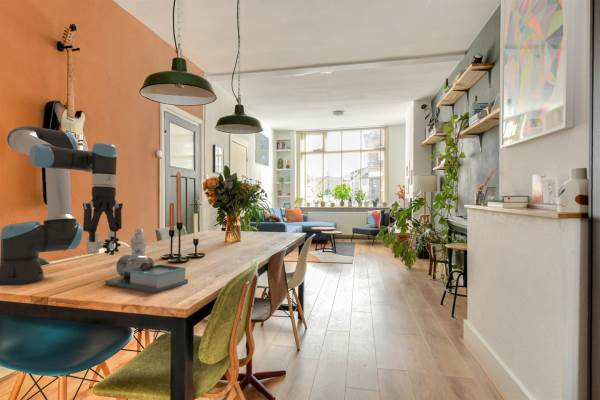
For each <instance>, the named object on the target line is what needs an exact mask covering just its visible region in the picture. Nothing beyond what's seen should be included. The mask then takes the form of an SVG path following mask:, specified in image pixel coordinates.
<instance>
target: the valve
mask: <svg viewBox="0 0 600 400" xmlns="http://www.w3.org/2000/svg"><path fill="white" fill-rule="evenodd" d="M110 238H111V240H109V239H108V238H106V239H104V241H103V240H100V235H99V234H98V251H96V252H95V251H91V242H89V234H88V235H86V240H87V241H86V242H85V243H86V255H87V254H88V255H95V254H99V253H100V250H101V249H105V250H104V254H107V255H108V254H109V255H110V256H114V254H115V253H119V251H120V250H119V249H118V248H119V247H120V246H122V244H121V243H119V241H120V239H119V238H118V237H116V238H115V240H114V237H112V236H111V237H110ZM111 241H114V242H112V243H110V242H111ZM113 247H114V249H110V248H113Z"/></svg>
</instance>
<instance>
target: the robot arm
mask: <svg viewBox="0 0 600 400" xmlns="http://www.w3.org/2000/svg"><path fill="white" fill-rule="evenodd" d="M6 140H7V141H6V142H7V144H8V145H9V147H10V148H11V149H12V150H14V151H16V152H17V153H20V154H25V155H27V156H28V157H29V161H30V164H31V166H33V167H37V168H43V169H45V183H46V184H45V186H46V189H45V190H46V208H47V209H46V211H47V217H46V218H45V219H44V220H43V224H41V223H40V221H34V220H33V221H23V222H16V223H10V224H6V225H4V226H3V227H2V228H1V232H0V286H14V285H23V284H29V283H31V284H32V283H34V282H38V281H42V280H43V279H45V277H44V275H45V273H44V270H43V268H42V265H41V263H40V259H39V257H40V256H39V255H40V253H50V252H60V251H64V252H65V251H69V250H75V249H77V248H78V247H79V246H80V244H81V242H82V239H83V234H84V232H87V233H88V235H89V242H91V251H95V252H96V251H98V235H99V232H97V229H98V227H99V221H100V219H101V215H102V214H103V212H104V214H105V216H106V220H107V225H108V227H109V230H108V231H107V239H109V240H111V238H110V237H111V236H112V237H114V240H115V238H117V232H119V230H121V229H122V226H123V225H122V222H123V221H122V209H123V207H124V206H123V203H120V202H117V201H116V196H117V194H116V193H117V188H116V187H115V186H117V185H116V184H117V157H118V155H117V147H116V145H114V144H112V143H111V144H110V143H102V142H97V143H93V145H92V148H91V149H92V150H90V151H89V150H82V149H79V146H78V141H77V139H76V137H75V136H74V134H72V133H71V132H67V131H63V130H57V129H50V128H43V127H37V126H30V125H28V126H26V125H24V126H19V127H16V128H13V129H12V130H10V131H9V132H8V134H7V136H6ZM70 171H83V172H86V173H91V185H92V187H91V200H90V202H89V201H88V202H84V203H82V207H83V210H84V211H83V225H82V223H80V222H77V218H76V217H75V216H73V209H72V192H71V191H72V190H71V176H70V175H71V174H70ZM92 208H93V209H92ZM112 242H114V241H111V242H110V243H112ZM114 248H115V246H114V247H113V248H110V250H113V249H114Z"/></svg>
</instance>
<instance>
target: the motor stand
mask: <svg viewBox="0 0 600 400" xmlns="http://www.w3.org/2000/svg"><path fill="white" fill-rule="evenodd" d="M115 269H116V272H117V274H118V275H119V276H120V277H119V276H118V277H116V278H111V279H107V280H105V286H106V285H108V286H113V287H118V288H123V289H126V290H127V289H128V290H134V291H138V292H143V293H149V294H155V293H156V294H157V293H159V292H160V293H161V292H163V291H166V290H169V289H172V288H177V287H179V286H182V285H185V284H189V283H188V280H189V278H186V267H183V266H175V265H168V264H161V263H160V264H155V262H154V260H153V259H152V257H149V256H145V257H144V256H136V255H132V254H124V255H122V256H121V257H120V258H119V259H118V261H117V263H116V267H115Z"/></svg>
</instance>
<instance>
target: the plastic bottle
mask: <svg viewBox="0 0 600 400" xmlns="http://www.w3.org/2000/svg"><path fill="white" fill-rule="evenodd" d="M133 233H134V235H133V236H132V237H131V239H130V249H131V255H136V256H144V257H146V247H147V238H146V237H145V235H144V229H143V228H135V229H134V230H133Z"/></svg>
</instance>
